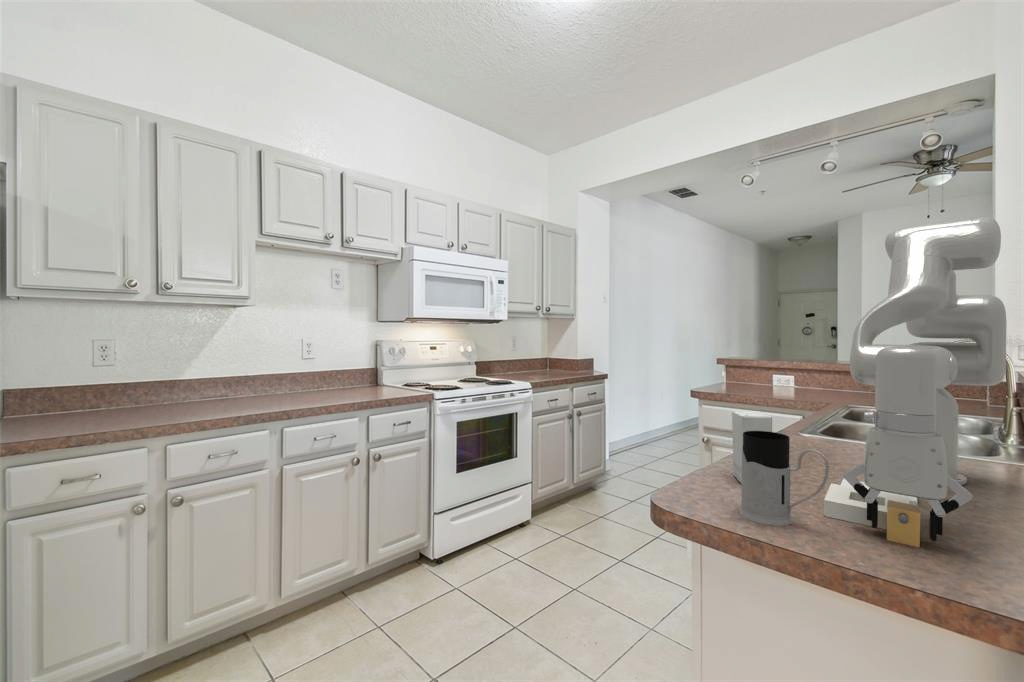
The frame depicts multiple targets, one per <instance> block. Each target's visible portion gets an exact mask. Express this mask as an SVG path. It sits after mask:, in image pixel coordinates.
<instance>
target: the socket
mask: <svg viewBox="0 0 1024 682" xmlns="http://www.w3.org/2000/svg"><path fill="white" fill-rule="evenodd" d="M888 500H891V501H896V502H902V503H907V504H910V502H909V497H906V496H900V495H894V494H888V493H883V492H880V493H879V495H878V496H877V497H876V501H878V524H877V529H883V530H886V531H887V502H888ZM823 516H824V517H827V518H832V519H836V520H841V521H845V522H850V523H855V524H859V525H864V526H868V527H872V521H870V520H867V502H866V501H865V499H864V498H863V497H862V496H861V495H860V494H859V493H858V492H857V491H856V490H855V489H854V488H853V487H849V486H843V485H841V484H838V483H837V484H836V483H832V482H831V483H830V486H829V488H828V490H827V492H826V495H825V497H824V499H823Z"/></svg>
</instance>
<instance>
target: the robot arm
mask: <svg viewBox="0 0 1024 682" xmlns="http://www.w3.org/2000/svg"><path fill="white" fill-rule="evenodd" d="M1001 231H1002V230H1001V228H1000V225H999V223H998V221H996V219H995V218H993V217H990V216H987V217H986V216H984V217H976V218H974V217H973V218H966V219H958V220H951V221H945V222H944V221H943V222H932V223H925V224H918V225H913V226H912V225H911V226H906V227H902V228H898V229H895V230H892V231H891V232H889V233H888V234H887V235H886V237H885V239H884V240H885V241H884V245H885V246H884V248H885V251H886V254H887V256H888V257H889V259H890V260H891V266H890V277H889V284H888V294H887V297H886V298H884V299H883V300H881V301H879V302H878V303H877V304H876V305H874V306H873V307H872V308H871V309H870V310H868V312H866V313H865V314H864V315H863V316H862V318H861V319H860V320H859V321H858V323H857V325H856V327H855V329H854V332H853V335H852V343H851V349H850V356H849V372H850V374H851V377H852V379H853V380H854V381H856V382H857V383H859V384H862V385H865V386H875V388H874V389H875V390H874V391H875V392H874V393H875V395H874V396H875V397H874V398H875V399H874V400H875V401H874V410H873V411H869V412H867V411H866V412H864V415H863V419H864V421H869V422H872V424H874V426H870V427H869V428H868V431H867V436H866V440H865V446H864V447H865V449H864V460H863V462H861V463H860V464H858V465H856V466H855V467H853V468H851V469H849V470H847V471H845V472H844V474H843V479H846V481H847V482H848V483H849V484H850V485H851V486H852V487H853V488H854V489H855V490H856V491H857V492H858V493H859V494H860V495H861V496H862V497H863V498H864V499H865V501H866V502H867V520H870V521H872V526H871V528H873V529H876V528H877V524H878V501H876V497H877V496H878V495H879V493H880V492H881V491H883V492H888V493H894V494H899V495H905V496H911V497H917V499H923V500H927V501H928V503H929V505H930V507H931V510H929V527H928V528H929V531H928V532H929V540H931V541H933V542H937V541H938V539H937V536H941V537H942V536H943V531H944V530H943V523H944V522H943V521H944V517H946V515H947V514H949V513H951V512H953V511H955V510H957V509H959V508H960V507H961V506H962V505H965V504H966V503H968V502H970V501H972V500H973V494H972V493H971V492H970V491H969V490H968V489H966V488H965V487H963V485H966V484H967V483H968V478H967V476H965V475H963V474H961V473H959V472H958V457H959V456H958V454H959V453H958V451H959V450H958V448H959V444H958V440H959V404H958V402H957V400H956V398H955V397H954V396H953V395H952V394H951V393H950V392H949V391H947V390H946V389H945V388H946V387H948V386H949V385H957V386H973V387H975V386H976V387H977V386H979V387H991V386H992V387H993V386H996V385H999V384H1000V383H1002V382H1003V380H1004V379H1005V375H1006V370H1007V323H1008V322H1007V312H1006V307H1005V305H1004V303H1003V301H1002V300H1001V298H999V297H998V296H996V295H990V294H968V295H967V294H963V295H959V294H958V293H957V274H956V272H955V271H964V270H975V269H977V270H978V269H986V268H990V267H992V266H993V265H995V263H996V262H997V260H998V258H999V255H1000V251H1001V243H1002V241H1001V240H1002V233H1001ZM904 323H905V325H906V330H907V331H908V334H910V335H911V336H913V337H915V338H916V337H917V338H921V339H922V338H923V339H958V340H959V339H961V340H962V339H963V340H964V339H965V340H968V339H969V340H971V341H972V340H973V341H974V342H951V341H946V342H945V341H923V342H922V341H921V342H913V343H910V344H873V342H874V340H875V339H876V338H877V337H878V336H880V334H882V333H883V332H885V331H886V330H889V329H892V328H893V327H896V326H899V325H902V324H904ZM862 474H863V479H864V480H863V482H865V484H866V485H867V486H868V487H869V489H867V488H866V487H865V486H864V485H863V484H862V483H860V482H861V481H860V480H858V478H857V477H859V476H862ZM859 481H860V482H859ZM948 488H949V489H950V490H952V491H953V492H954V493H955V495H953V496H952V497H950V498H948V499H946V497H947V495H948ZM944 499H946V500H944ZM941 500H944V501H941ZM877 529H878V528H877Z"/></svg>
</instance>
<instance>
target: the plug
mask: <svg viewBox="0 0 1024 682" xmlns="http://www.w3.org/2000/svg"><path fill="white" fill-rule="evenodd" d="M920 533H921V509H920V505H912V504H907V503H902V502H896V501H891V500H888V502H887V530H886V540H887V541H889V542H893V543H897V544H903V545H906V546H911V547H915V548H921V547H920V545H921V542H920V541H921V540H920V539H921V534H920Z"/></svg>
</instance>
